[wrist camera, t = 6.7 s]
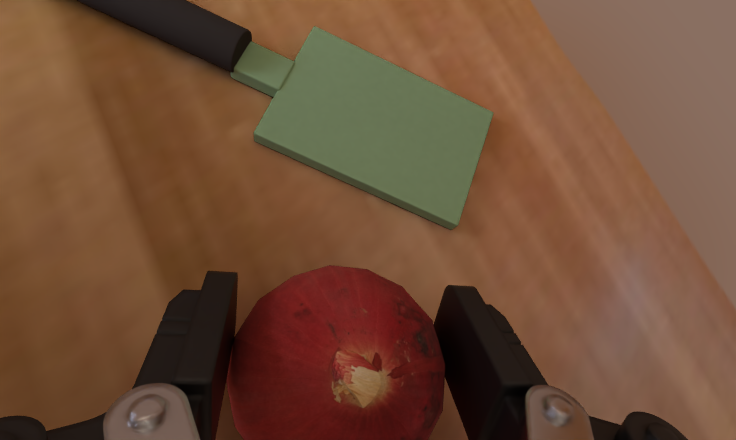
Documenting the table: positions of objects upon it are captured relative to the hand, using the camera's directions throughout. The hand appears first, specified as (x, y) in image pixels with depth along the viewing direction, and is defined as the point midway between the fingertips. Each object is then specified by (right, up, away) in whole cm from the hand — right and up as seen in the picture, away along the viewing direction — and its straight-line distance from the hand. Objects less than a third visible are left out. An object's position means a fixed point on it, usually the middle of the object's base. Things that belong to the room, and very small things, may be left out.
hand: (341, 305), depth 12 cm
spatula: (-5, +9, +6) cm, 12 cm away
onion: (-1, -3, +4) cm, 5 cm away
